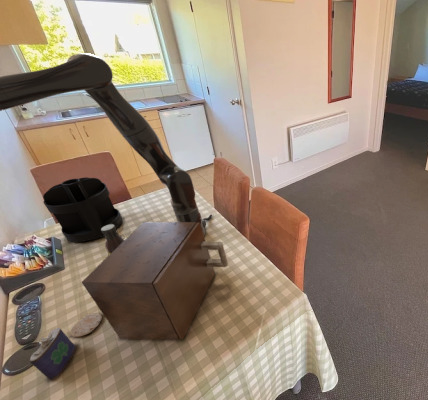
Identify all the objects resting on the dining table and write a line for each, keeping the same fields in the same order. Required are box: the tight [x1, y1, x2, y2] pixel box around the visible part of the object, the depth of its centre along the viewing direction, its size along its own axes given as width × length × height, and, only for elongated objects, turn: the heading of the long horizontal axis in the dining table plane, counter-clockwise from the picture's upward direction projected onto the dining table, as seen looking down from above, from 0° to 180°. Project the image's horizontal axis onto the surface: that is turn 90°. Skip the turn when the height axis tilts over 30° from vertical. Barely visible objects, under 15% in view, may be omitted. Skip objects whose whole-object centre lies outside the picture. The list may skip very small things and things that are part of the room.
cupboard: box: [81, 221, 196, 340], centre depth 84 cm, size 18×26×24 cm
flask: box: [29, 327, 77, 381], centre depth 70 cm, size 9×3×11 cm, turn 8°
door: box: [153, 223, 229, 340], centre depth 83 cm, size 8×26×24 cm, turn 178°
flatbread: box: [69, 312, 103, 338], centre depth 82 cm, size 8×8×1 cm
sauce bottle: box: [101, 224, 125, 256], centre depth 98 cm, size 7×6×20 cm
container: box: [42, 176, 124, 243], centre depth 120 cm, size 22×23×25 cm
